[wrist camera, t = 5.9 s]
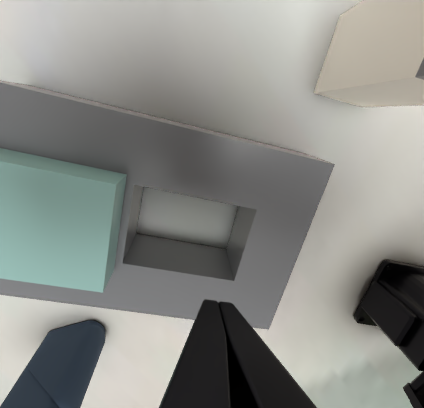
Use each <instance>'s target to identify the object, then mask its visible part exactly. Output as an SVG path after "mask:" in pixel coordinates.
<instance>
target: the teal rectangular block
mask: <svg viewBox="0 0 424 408" xmlns="http://www.w3.org/2000/svg"><path fill="white" fill-rule="evenodd" d="M126 177H127V174H122V173H118V172H113V171H108V170H103V169H98V168H94V167H89V166H84V165H79V164H75V163H70V162H65V161H60V160H55V159H51V158H46V157H41V156H36V155H32V154H27V153H22V152H17V151H12V150H8V149H3V148H0V278H1V279H8V280H15V281H22V282H30V283H37V284H44V285H51V286H58V287H66V288H73V289H80V290H87V291H94V292H102V293H103V292H104V289H105V287H106V285H107V283H108V281H109V279H110V277H111V275H112V273H113V271H114V266H115V259H116V251H117V244H118V236H119V229H120V221H121V214H122V206H123V199H124V192H125V184H126Z"/></svg>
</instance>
